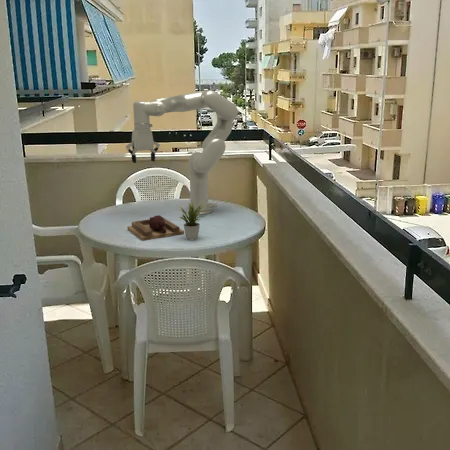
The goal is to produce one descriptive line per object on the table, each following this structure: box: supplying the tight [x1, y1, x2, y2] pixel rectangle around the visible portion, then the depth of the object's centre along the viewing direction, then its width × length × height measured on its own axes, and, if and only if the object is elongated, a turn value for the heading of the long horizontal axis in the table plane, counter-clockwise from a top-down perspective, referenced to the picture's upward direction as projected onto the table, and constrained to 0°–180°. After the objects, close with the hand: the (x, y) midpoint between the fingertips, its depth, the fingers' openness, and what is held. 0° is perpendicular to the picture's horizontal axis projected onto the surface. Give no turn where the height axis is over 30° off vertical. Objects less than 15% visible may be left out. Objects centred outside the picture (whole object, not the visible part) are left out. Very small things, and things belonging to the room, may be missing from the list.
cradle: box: [127, 217, 185, 242], centre depth 234 cm, size 20×20×4 cm
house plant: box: [178, 203, 206, 240], centre depth 223 cm, size 14×14×16 cm
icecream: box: [149, 215, 166, 233], centre depth 232 cm, size 7×7×15 cm
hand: (143, 161), depth 253 cm, fingers open, 9 cm apart
